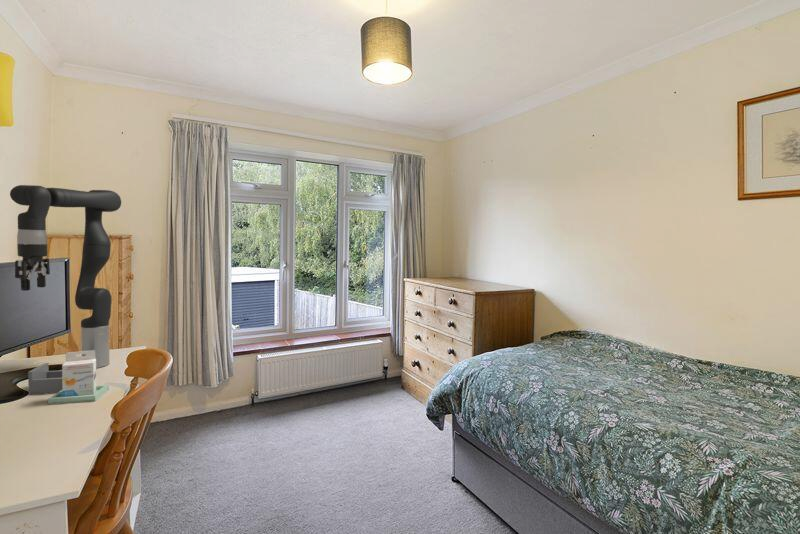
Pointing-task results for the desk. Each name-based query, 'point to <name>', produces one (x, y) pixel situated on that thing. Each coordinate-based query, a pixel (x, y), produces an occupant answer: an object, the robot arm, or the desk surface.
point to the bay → (44, 380)
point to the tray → (72, 399)
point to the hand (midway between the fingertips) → (33, 288)
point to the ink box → (79, 374)
